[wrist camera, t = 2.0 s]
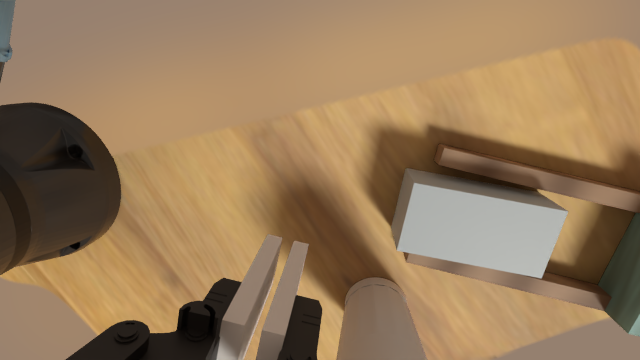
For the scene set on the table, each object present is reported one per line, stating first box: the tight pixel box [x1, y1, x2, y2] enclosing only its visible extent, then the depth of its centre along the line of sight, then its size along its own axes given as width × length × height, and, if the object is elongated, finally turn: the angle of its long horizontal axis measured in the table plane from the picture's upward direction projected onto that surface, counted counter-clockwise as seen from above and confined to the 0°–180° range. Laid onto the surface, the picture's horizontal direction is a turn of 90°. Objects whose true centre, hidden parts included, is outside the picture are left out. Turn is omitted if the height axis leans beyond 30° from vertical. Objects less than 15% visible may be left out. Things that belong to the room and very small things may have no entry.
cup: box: [336, 277, 427, 360], centre depth 32 cm, size 8×8×12 cm
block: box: [391, 168, 568, 278], centre depth 31 cm, size 12×6×5 cm, turn 80°
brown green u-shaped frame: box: [403, 144, 640, 336], centre depth 31 cm, size 20×11×5 cm, turn 77°
